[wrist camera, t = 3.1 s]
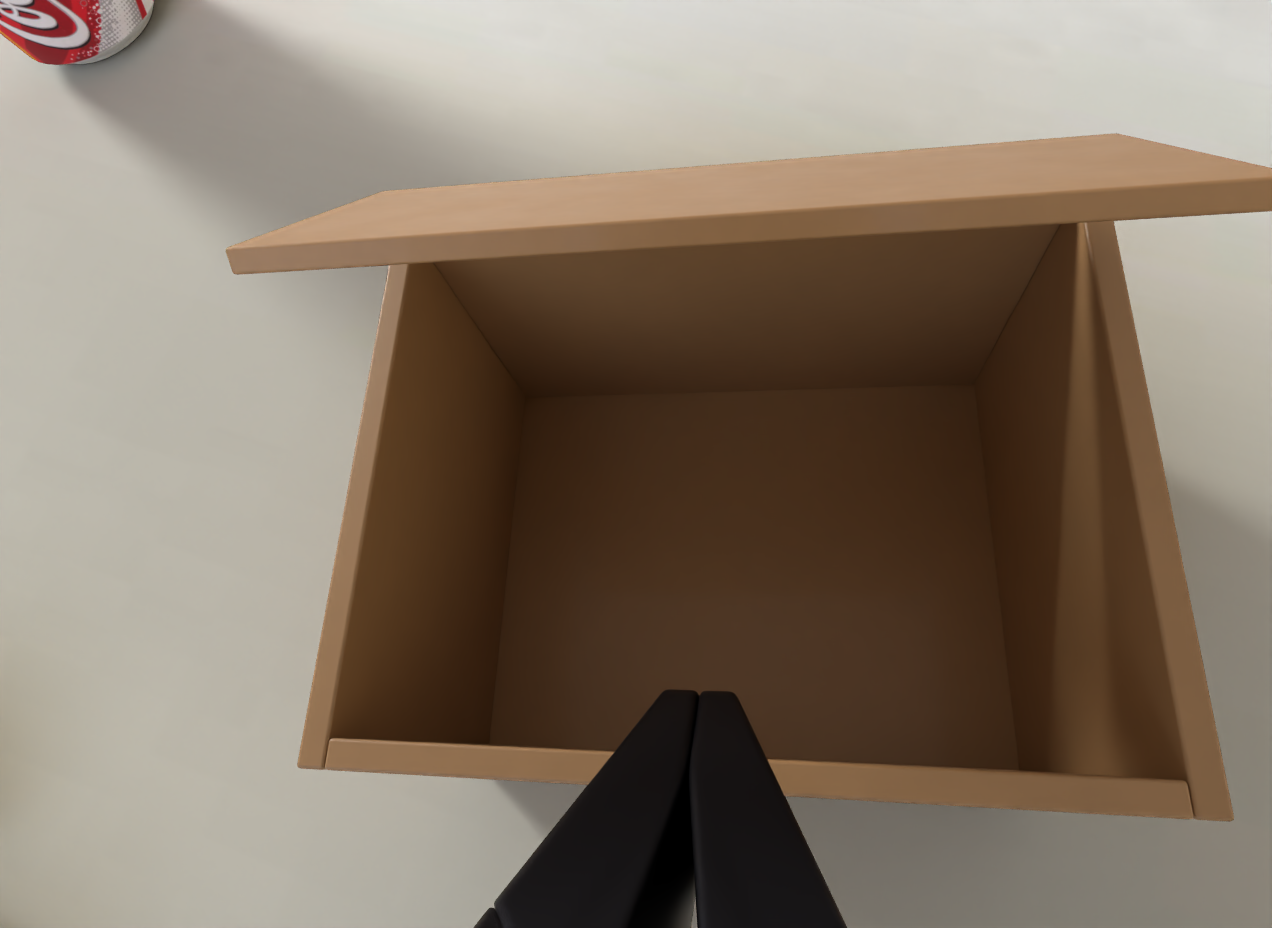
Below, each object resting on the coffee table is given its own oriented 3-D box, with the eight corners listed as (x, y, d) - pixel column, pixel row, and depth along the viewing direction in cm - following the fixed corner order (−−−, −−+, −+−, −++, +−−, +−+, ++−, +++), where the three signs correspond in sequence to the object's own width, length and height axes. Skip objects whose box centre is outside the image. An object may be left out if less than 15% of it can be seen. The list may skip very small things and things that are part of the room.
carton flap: (386, 211, 16) (381, 191, 16) (1114, 157, 14) (1118, 132, 14) (232, 275, 11) (222, 247, 11) (1295, 210, 9) (1306, 175, 9)
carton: (516, 391, 24) (396, 219, 17) (986, 376, 22) (1104, 168, 14) (475, 763, 21) (294, 768, 13) (1038, 793, 18) (1237, 822, 10)
